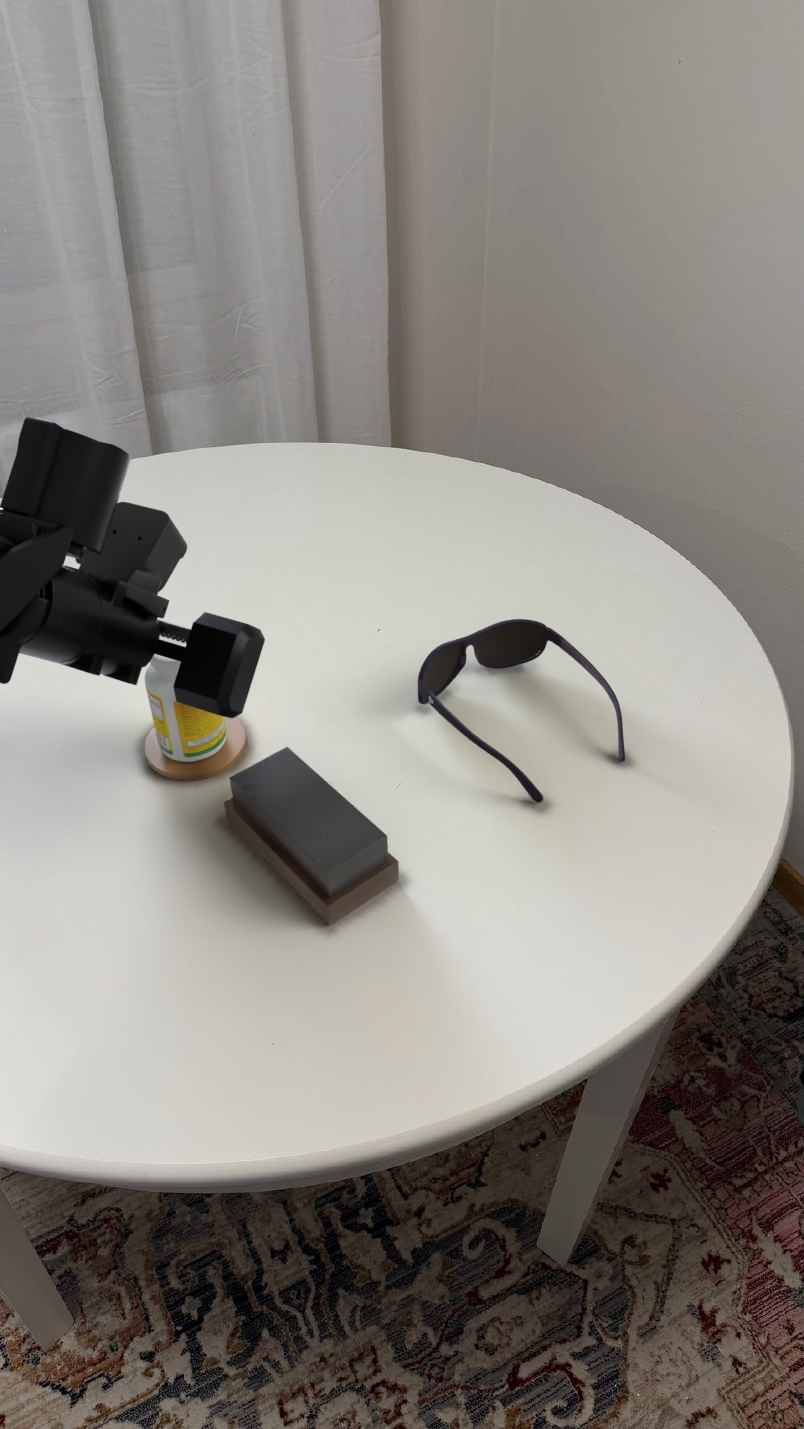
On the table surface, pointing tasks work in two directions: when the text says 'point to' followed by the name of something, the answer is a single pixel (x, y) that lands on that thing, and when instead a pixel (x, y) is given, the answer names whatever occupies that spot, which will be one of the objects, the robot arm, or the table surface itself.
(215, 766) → the cork coaster
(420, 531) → the table surface
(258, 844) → the sharpening stone
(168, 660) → the supplement bottle
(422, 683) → the sunglasses
